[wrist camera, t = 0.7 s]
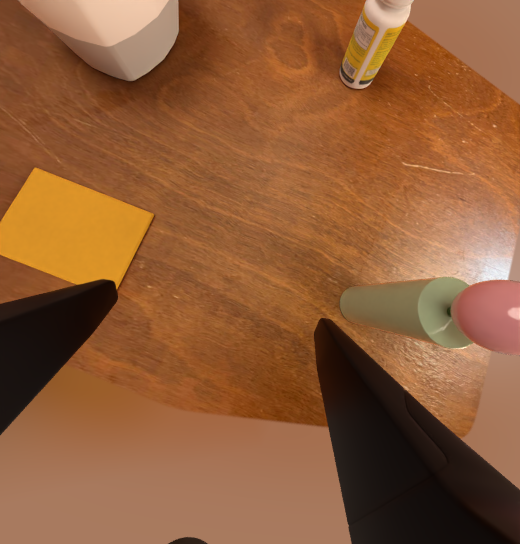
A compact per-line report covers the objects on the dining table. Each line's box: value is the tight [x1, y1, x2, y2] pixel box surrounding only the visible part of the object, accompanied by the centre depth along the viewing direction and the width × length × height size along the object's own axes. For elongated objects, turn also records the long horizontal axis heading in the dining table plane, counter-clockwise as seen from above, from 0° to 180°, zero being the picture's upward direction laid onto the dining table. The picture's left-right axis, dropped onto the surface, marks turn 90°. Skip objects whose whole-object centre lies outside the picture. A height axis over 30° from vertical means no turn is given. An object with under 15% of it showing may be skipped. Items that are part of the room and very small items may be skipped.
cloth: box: [0, 167, 154, 289], centre depth 20 cm, size 14×10×1 cm
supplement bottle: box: [340, 0, 414, 89], centre depth 21 cm, size 5×5×8 cm
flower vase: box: [340, 277, 520, 356], centre depth 14 cm, size 4×4×14 cm
